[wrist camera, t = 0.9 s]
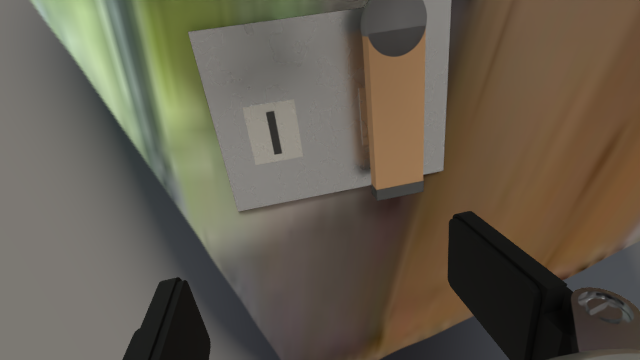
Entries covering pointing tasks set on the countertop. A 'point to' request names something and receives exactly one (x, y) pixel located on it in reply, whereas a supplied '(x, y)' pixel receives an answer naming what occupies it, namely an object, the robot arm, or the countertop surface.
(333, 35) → the board
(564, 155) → the countertop surface
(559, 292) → the robot arm
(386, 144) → the swing arm
